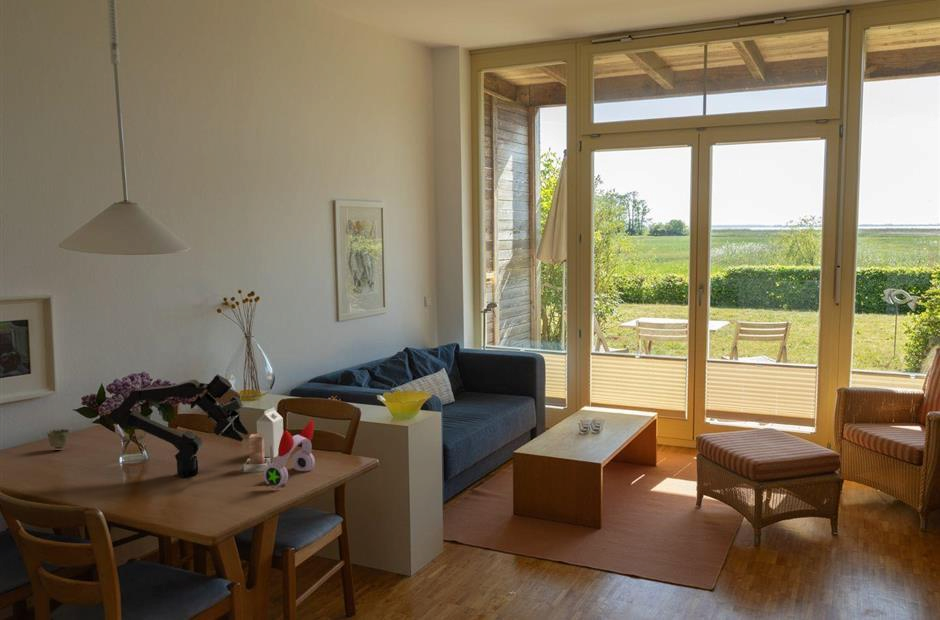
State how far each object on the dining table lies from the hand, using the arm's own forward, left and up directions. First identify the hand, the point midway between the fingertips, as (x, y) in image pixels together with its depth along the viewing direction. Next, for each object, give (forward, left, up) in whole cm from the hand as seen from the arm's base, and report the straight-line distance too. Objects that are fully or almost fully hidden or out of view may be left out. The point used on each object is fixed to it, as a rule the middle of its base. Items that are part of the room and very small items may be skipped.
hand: (244, 437), depth 274 cm
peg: (+2, -3, -11) cm, 12 cm away
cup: (-14, +89, -13) cm, 91 cm away
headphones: (+1, -21, -13) cm, 24 cm away
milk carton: (+18, +6, -13) cm, 23 cm away
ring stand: (+2, -3, -13) cm, 14 cm away
